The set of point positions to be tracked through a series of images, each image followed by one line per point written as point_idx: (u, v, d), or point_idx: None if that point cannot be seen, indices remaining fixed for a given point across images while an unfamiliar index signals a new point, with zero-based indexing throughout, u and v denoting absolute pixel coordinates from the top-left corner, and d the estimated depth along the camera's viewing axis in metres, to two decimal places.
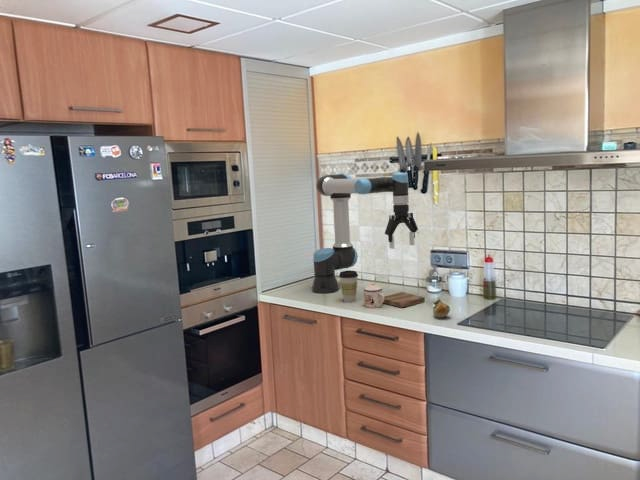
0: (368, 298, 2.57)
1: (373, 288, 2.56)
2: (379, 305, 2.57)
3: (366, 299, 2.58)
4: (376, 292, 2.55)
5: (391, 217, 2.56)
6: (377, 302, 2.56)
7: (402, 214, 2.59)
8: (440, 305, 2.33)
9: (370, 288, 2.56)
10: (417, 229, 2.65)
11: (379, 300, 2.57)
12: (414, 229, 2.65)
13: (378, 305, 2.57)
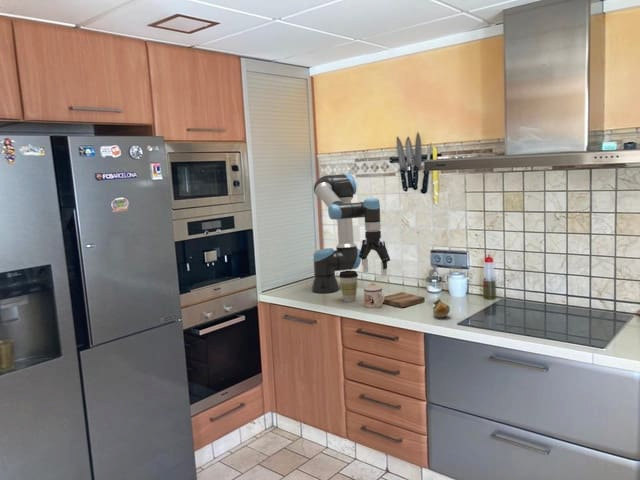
0: (368, 298, 2.57)
1: (373, 288, 2.56)
2: (379, 305, 2.57)
3: (366, 299, 2.58)
4: (376, 292, 2.55)
5: None
6: (377, 302, 2.56)
7: (371, 241, 2.54)
8: (440, 305, 2.33)
9: (370, 288, 2.56)
10: (385, 260, 2.47)
11: (379, 300, 2.57)
12: (382, 259, 2.49)
13: (378, 305, 2.57)
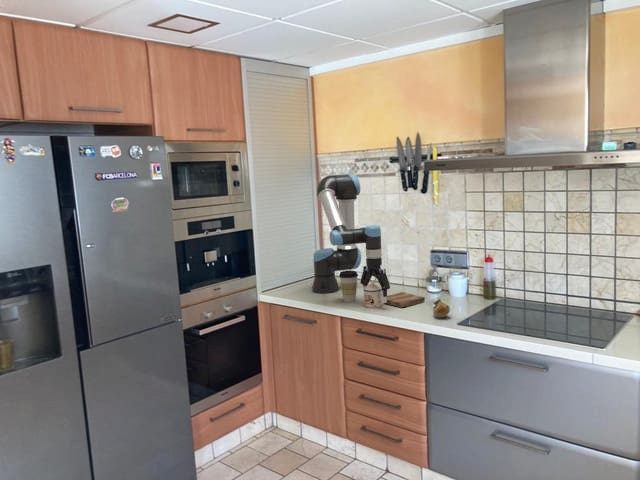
0: (368, 298, 2.57)
1: (373, 288, 2.56)
2: (379, 305, 2.57)
3: (366, 299, 2.58)
4: (376, 292, 2.55)
5: None
6: (377, 302, 2.56)
7: (372, 267, 2.56)
8: (440, 305, 2.33)
9: (370, 288, 2.56)
10: (385, 288, 2.50)
11: (379, 300, 2.57)
12: (382, 287, 2.52)
13: (378, 305, 2.57)
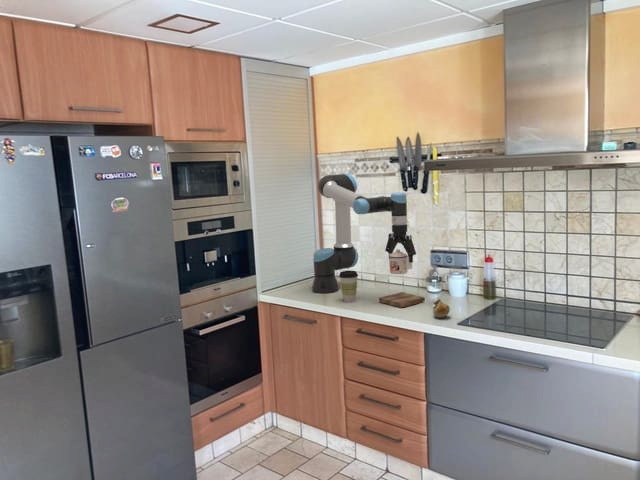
0: (393, 265, 2.59)
1: (399, 255, 2.59)
2: (404, 271, 2.60)
3: (392, 266, 2.60)
4: (402, 258, 2.58)
5: None
6: (403, 268, 2.59)
7: (397, 234, 2.59)
8: (440, 305, 2.33)
9: (396, 255, 2.59)
10: (411, 254, 2.53)
11: (404, 266, 2.59)
12: (408, 253, 2.54)
13: (404, 272, 2.60)
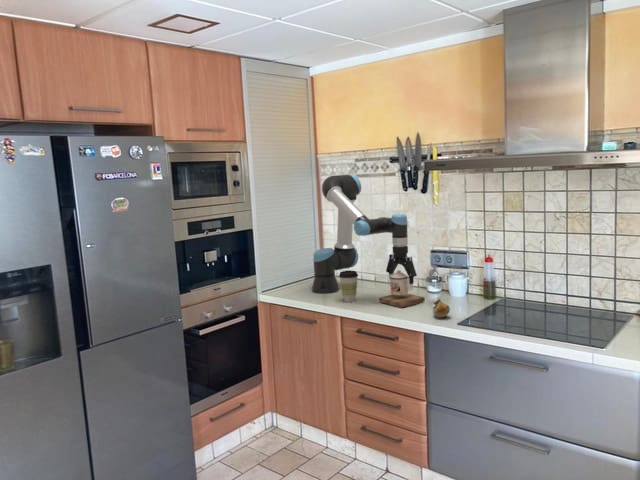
0: (394, 286, 2.61)
1: (399, 276, 2.60)
2: (405, 292, 2.61)
3: (392, 287, 2.62)
4: (402, 280, 2.60)
5: None
6: (403, 289, 2.60)
7: (398, 255, 2.60)
8: (440, 305, 2.33)
9: (396, 276, 2.61)
10: (412, 276, 2.54)
11: (405, 288, 2.61)
12: (409, 275, 2.56)
13: (405, 293, 2.61)
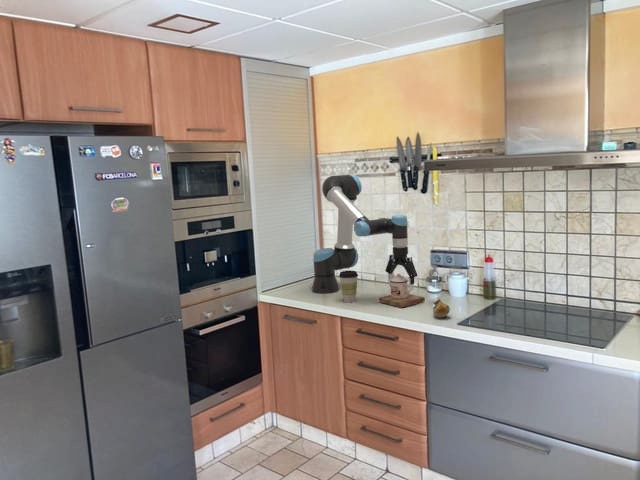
0: (394, 289, 2.61)
1: (399, 279, 2.61)
2: (405, 296, 2.62)
3: (392, 290, 2.62)
4: (402, 283, 2.60)
5: None
6: (403, 293, 2.61)
7: (398, 256, 2.61)
8: (440, 305, 2.33)
9: (396, 279, 2.61)
10: (413, 276, 2.54)
11: (405, 291, 2.61)
12: (410, 275, 2.55)
13: (405, 296, 2.62)
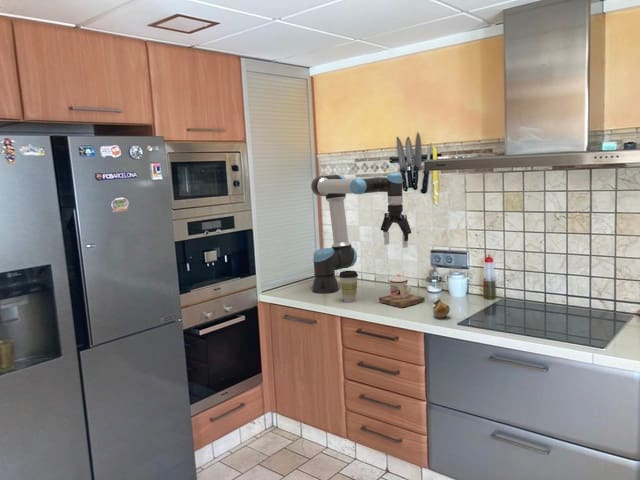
0: (394, 289, 2.61)
1: (399, 279, 2.61)
2: (405, 296, 2.62)
3: (392, 290, 2.62)
4: (402, 283, 2.60)
5: None
6: (403, 293, 2.61)
7: (393, 214, 2.65)
8: (440, 305, 2.33)
9: (396, 279, 2.61)
10: (406, 233, 2.58)
11: (405, 291, 2.62)
12: (404, 232, 2.60)
13: (405, 296, 2.62)
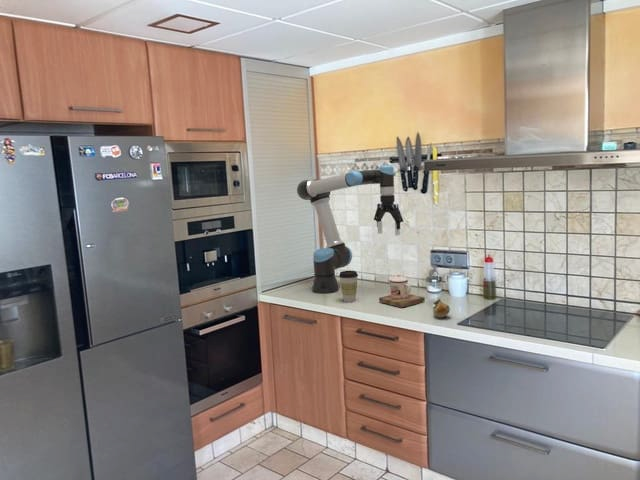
0: (394, 289, 2.61)
1: (399, 279, 2.61)
2: (405, 296, 2.62)
3: (392, 290, 2.62)
4: (402, 283, 2.60)
5: None
6: (403, 293, 2.61)
7: (385, 204, 2.80)
8: (440, 305, 2.33)
9: (396, 279, 2.61)
10: (398, 221, 2.73)
11: (405, 291, 2.62)
12: (396, 220, 2.74)
13: (405, 296, 2.62)
